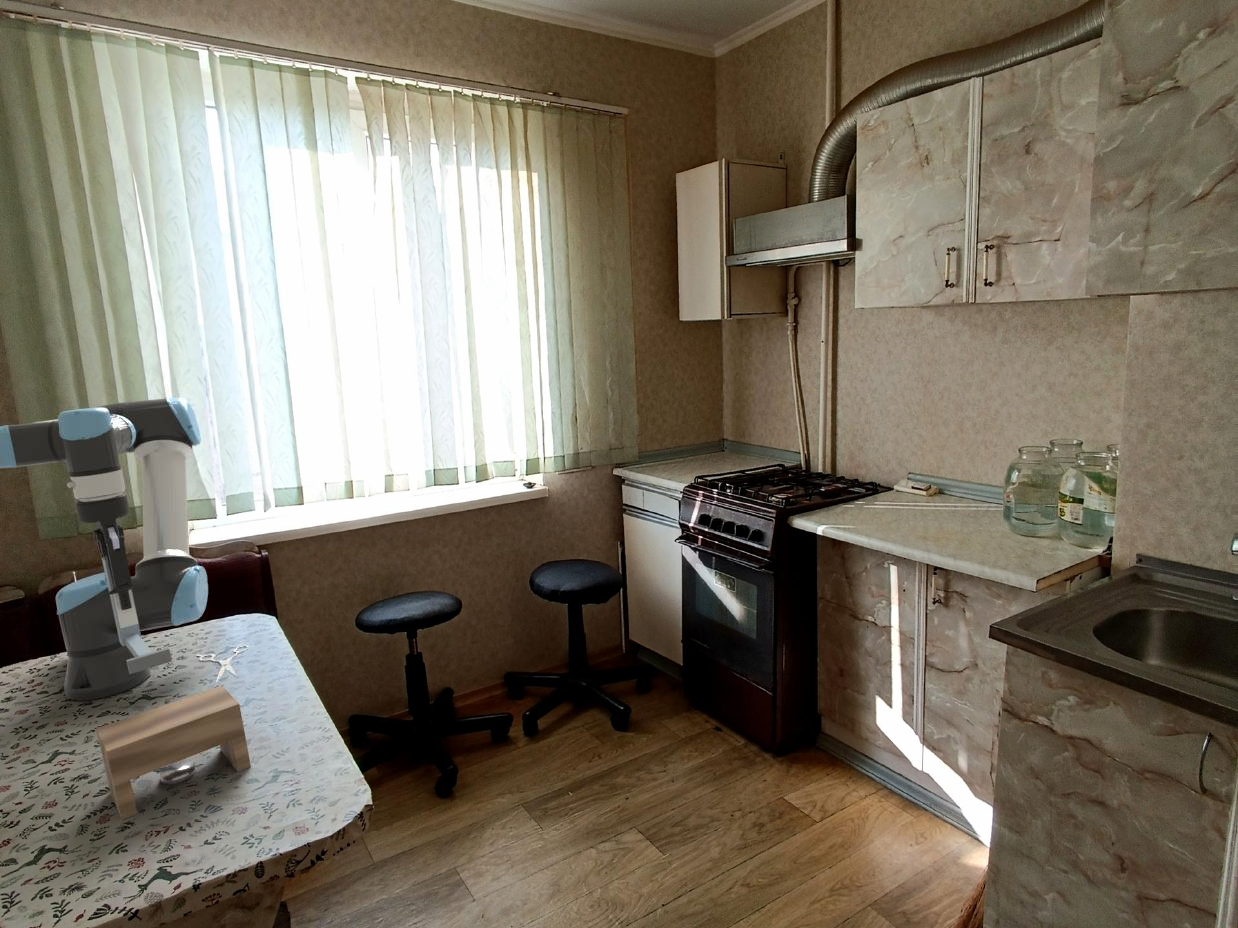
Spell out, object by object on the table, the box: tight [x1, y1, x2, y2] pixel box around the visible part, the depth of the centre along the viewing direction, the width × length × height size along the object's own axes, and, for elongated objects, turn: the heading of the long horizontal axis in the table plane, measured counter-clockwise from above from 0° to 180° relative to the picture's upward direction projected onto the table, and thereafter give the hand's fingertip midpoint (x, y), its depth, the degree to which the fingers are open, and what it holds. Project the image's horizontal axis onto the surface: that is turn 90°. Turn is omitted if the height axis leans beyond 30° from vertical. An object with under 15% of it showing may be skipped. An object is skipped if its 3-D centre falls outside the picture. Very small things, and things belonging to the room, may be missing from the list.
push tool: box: [101, 557, 173, 674], centre depth 130 cm, size 19×6×16 cm, turn 42°
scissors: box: [195, 644, 250, 683], centre depth 166 cm, size 11×1×20 cm
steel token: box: [159, 759, 197, 785], centre depth 122 cm, size 5×5×1 cm
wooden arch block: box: [95, 685, 252, 821], centre depth 120 cm, size 10×18×11 cm, turn 132°
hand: (127, 622), depth 137 cm, fingers closed on push tool, 3 cm apart
